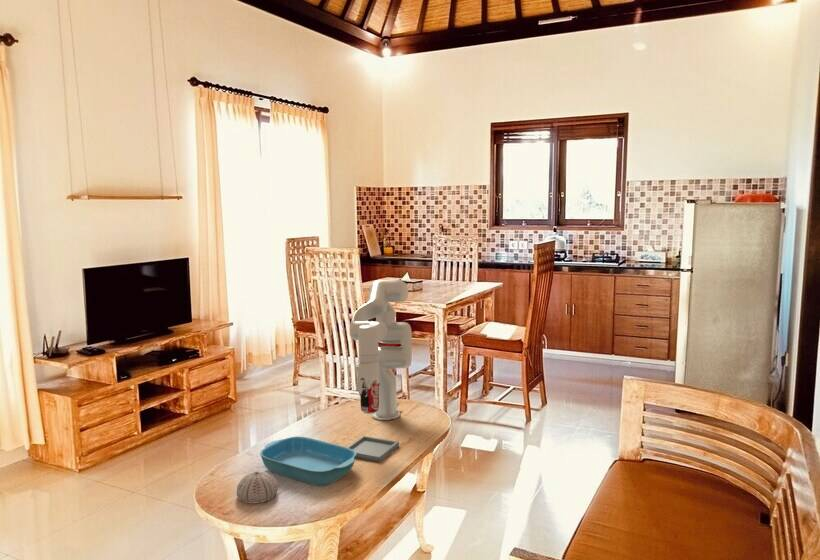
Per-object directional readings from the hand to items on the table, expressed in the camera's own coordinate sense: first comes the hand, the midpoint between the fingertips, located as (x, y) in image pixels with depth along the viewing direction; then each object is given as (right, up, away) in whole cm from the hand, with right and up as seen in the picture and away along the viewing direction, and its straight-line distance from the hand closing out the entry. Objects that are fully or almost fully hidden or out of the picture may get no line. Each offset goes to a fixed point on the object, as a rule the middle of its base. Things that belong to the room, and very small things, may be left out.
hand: (369, 403), depth 227 cm
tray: (0, -19, +2) cm, 19 cm away
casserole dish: (-21, -21, -14) cm, 33 cm away
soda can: (0, -3, 0) cm, 3 cm away
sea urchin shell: (-34, -24, -33) cm, 53 cm away
